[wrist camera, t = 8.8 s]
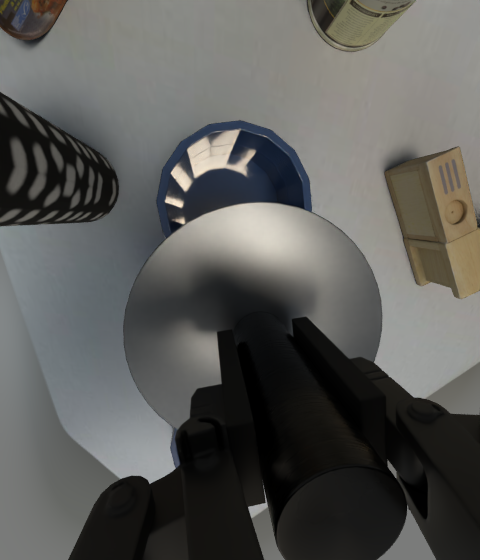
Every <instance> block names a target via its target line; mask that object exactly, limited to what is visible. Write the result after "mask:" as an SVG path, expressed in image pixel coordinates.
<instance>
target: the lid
mask: <svg viewBox="0 0 480 560" xmlns="http://www.w3.org/2000/svg"><path fill="white" fill-rule="evenodd" d="M305 316H307V317H308V318H309V319H310V320H311V321H312V322H313V323H314V324H315V325H316V326H317V327H318V328H319V329H320V330H321V331H322V332H323V333H324V334H325V335H326V336H327V337H328V338H329V339H330V340H331V341H332V342H333V343H334V344H335V345H336V346H337V347H338V348H339V349H340V350H341V351H342V352H343V353H344V354H345V355H346V356H347V357H348V358H349V359H351V358H356V357H363V358H365V359H367V360H370V361H372V362H374V361H375V357H376V354H377V351H378V348H379V343H380V337H381V332H382V306H381V298H380V294H379V289H378V285H377V282H376V280H375V277H374V274H373V272H372V269H371V267H370V266H369V264H368V262H367V260H366V258H365V257H364V255H363V254H362V252H361V251H360V250H359V248H358V247H357V246H356V244H355V243H354V242H353V241H352V240H351V239H350V238H349V237H348V236H347V235H346V234H345V233H344V232H343V231H342V230H340V229H339V228H338V227H336V226H335V225H333V224H332V223H331V222H329V221H328V220H326V219H324V218H322V217H320V216H318V215H317V214H315V213H313V212H310V211H307V210H304V209H302V208H299V207H296V206H291V205H286V204H282V203H273V202H248V203H239V204H234V205H229V206H225V207H221V208H218V209H216V210H213V211H210V212H207V213H205V214H203V215H201V216H199V217H197V218H195V219H193V220H191V221H189V222H187V223H186V224H184V225H183V226H182V227H180V228H179V229H177V230H176V231H174V232H173V233H172V234H171V235H170V236H169V237H168V238H166V239H165V240H164V241H163V242H162V243H161V244H160V245H159V246H158V247H157V248H156V250H155V251H154V252H153V253H152V254H151V256H150V257H149V258H148V259H147V261H146V262H145V264H144V266H143V267H142V269H141V270H140V272H139V274H138V275H137V277H136V280H135V282H134V284H133V287H132V289H131V291H130V294H129V298H128V302H127V305H126V309H125V317H124V325H123V335H124V348H125V354H126V360H127V363H128V366H129V369H130V372H131V375H132V377H133V380H134V382H135V384H136V386H137V388H138V390H139V391H140V393H141V394H142V396H143V397H144V399H145V400H146V401H147V403H148V404H149V405H150V406H151V407H152V409H153V410H154V411H155V412H156V413H157V414H158V415H159V416H160V417H161V418H163V419H164V420H165V421H166V422H167V423H169V424H170V425H171V426H173V427H174V428H176V429H179V427H180V426H181V425H182V424H183V423H184V422H185V421H187V420H188V419H189V418H190V409H191V408H190V405H191V397H192V396H193V394H194V392H195V391H196V389H197V388H202V387H207V386H213V385H218V384H222V382H221V372H220V361H219V351H218V341H217V332H219V331H224V330H230V329H232V331H233V335H234V339H235V344H236V348H237V352H238V356H239V361H240V365H241V369H242V373H243V378H244V382H245V386H246V390H247V395H248V399H249V403H250V407H251V412H252V416H253V420H254V426H255V432H256V439H257V446H258V453H259V466H260V471H261V476H262V480H263V485H264V489H265V494H266V499H267V503H268V508H269V512H270V517H271V522H272V526H273V531H274V536H275V540H276V544H277V547H278V549H279V551H280V552H281V554H282V556H283V557H284V559H285V560H377V559H378V558H379V557H381V556H382V555H383V554H384V553H385V552H386V551H387V550H388V549H389V548H390V547H391V546H392V545H393V543H394V542H395V541H396V539H397V538H398V537H399V535H400V533H401V531H402V529H403V526H404V523H405V520H406V515H407V501H406V497H405V493H404V491H403V489H402V487H401V485H400V484H399V482H398V481H397V479H396V478H395V477H394V475H393V474H392V472H391V471H390V470H389V468H388V467H387V466H386V464H385V463H384V461H383V460H382V459H381V457H380V456H379V455H378V453H377V452H376V450H375V449H374V448H373V446H372V445H371V444H370V442H369V441H368V439H367V438H366V437H365V435H364V434H363V433H362V431H361V430H360V428H359V427H358V426H357V424H356V423H355V422H354V420H353V419H352V417H351V416H350V415H349V413H348V412H347V411H346V409H345V408H344V406H343V405H342V404H341V402H340V401H339V400H338V398H337V397H336V395H335V394H334V393H333V391H332V390H331V389H330V387H329V386H328V384H327V383H326V382H325V380H324V379H323V378H322V376H321V375H320V373H319V372H318V371H317V369H316V368H315V367H314V365H313V364H312V362H311V361H310V360H309V358H308V357H307V356H306V354H305V353H304V351H303V350H302V349H301V347H300V346H299V345H298V343H297V342H296V340H295V339H294V338H293V328H292V319H294V318H300V317H305Z"/></svg>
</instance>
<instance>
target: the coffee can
mask: <svg viewBox="0 0 480 560" xmlns="http://www.w3.org/2000/svg"><path fill="white" fill-rule="evenodd" d="M415 1H416V0H308V7H309V13H310V16H311V19H312V22H313V24H314V26H315V28H316V30H317V32H318V33H319V34H320V36H321V37H322V38H323V39H324V40H325V41H326V42H327V43H329V44H330V45H331V46H333V47H335V48H337V49H340V50H344V51H359V50H362V49H365V48H367V47H369V46H371V45H373V44H374V43H375V42H376V41H378V40H379V39H380V38H381V37H382V36H383V34H384V33H385V32H386V31H387V30H388V29H389V28H390V27H391V26H392V25H393V23H394V22H395V21H396V20H397V19H398V18H399V17H400V16H401V15H402V14H403V13H404V12H405V11H406V10H407V9H408V8H409V7H410V6H411V5H412V4H413V3H414V2H415Z"/></svg>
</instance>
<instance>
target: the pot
mask: <svg viewBox="0 0 480 560" xmlns="http://www.w3.org/2000/svg"><path fill="white" fill-rule="evenodd" d="M248 202H273V203H282V204H286V205H291V206H296V207H299V208H302V209H304V210H307V211H310V212H311V211H312V204H311V193H310V181H309V178H308V176H307V174H306V172H305V170H304V168H303V166H302V164H301V162H300V160H299V158H298V156H297V154H296V152H295V150H294V149H293V148H291V147H290V146H289V145H288V144H287V143H286V142H285V141H283V140H282V139H281V138H280V137H279V136H278V135H276V134H275V133H274V132H273V131H272V130H270V129H267V128H263V127H260V126H257V125H254V124H251V123H247V122H244V121H240V120H239V121H231V122H223V123H215V124H209V125H207V126H205V127H204V128H202V129H200V130H199V131H197V132H196V133H194V134H192V135H191V136H189V137H188V138H186V139H184V140H183V141H181V142H180V144H179V145H178V147H177V148H176V150H175V151H174V152H173V154H172V155H171V157H170V158H169V160H168V161H167V163H166V164H165V166H164V167H163V170H162V174H161V179H160V185H159V190H158V195H157V207H158V212H159V217H160V221H161V226H162V231H163V234H164V235H165V237H166V238H168V237H169V236H170V235H171V234H172V233H173V232H174V231H176V230H177V229H179V228H180V227H182V226H183V225H184V224H186V223H187V222H189V221H191V220H193V219H195V218H197V217H199V216H201V215H203V214H205V213H207V212H210V211H213V210H216V209H218V208H221V207H225V206H229V205H234V204H239V203H248Z"/></svg>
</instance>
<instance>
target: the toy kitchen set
mask: <svg viewBox="0 0 480 560" xmlns="http://www.w3.org/2000/svg"><path fill="white" fill-rule="evenodd" d="M385 177H386V180H387V184H388V187H389V190H390V194H391V197H392V200H393V203H394V207H395V210H396V213H397V217H398V220H399V223H400V227H401V230H402V233H403V236H404V244H405V247H406V250H407V253H408V256H409V260H410V263H411V267H412V270H413V273H414V276H415V280H416V283H417V284H418V285H420V286H424V285H426V284H428V283H430V282H433V283H437V284H440V285H443V286H446V287H450V288H452V292H453V295H454V297H456V298H459V299H463V298H465V297H467V296H469V295H471V294H474V293H476V292H478V291H480V228H479V227H477V221H476V217H475V212H474V208H473V203H472V199H471V195H470V190H469V186H468V181H467V177H466V173H465V168H464V164H463V159H462V155H461V151H460V147H459V146H458V147H455V148H452V149H449V150H447V151H443V152H439V153H436V154H432V155H428V156H424V157H420V158H417V159H413V160H409V161H407V162H405V163H402V164H400V165H398V166H396V167H394V168H392V169H390V170H388V171H386V172H385Z"/></svg>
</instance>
